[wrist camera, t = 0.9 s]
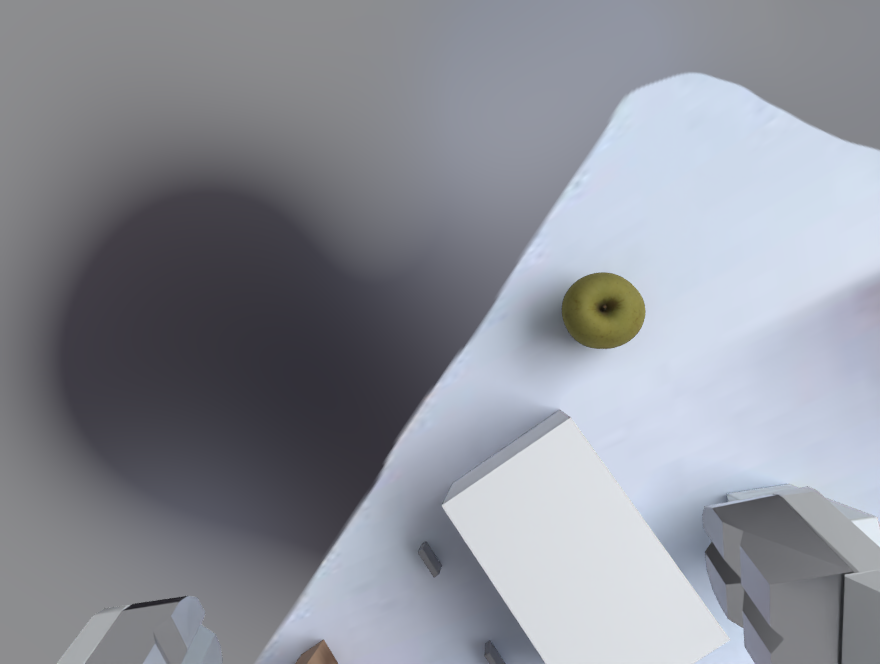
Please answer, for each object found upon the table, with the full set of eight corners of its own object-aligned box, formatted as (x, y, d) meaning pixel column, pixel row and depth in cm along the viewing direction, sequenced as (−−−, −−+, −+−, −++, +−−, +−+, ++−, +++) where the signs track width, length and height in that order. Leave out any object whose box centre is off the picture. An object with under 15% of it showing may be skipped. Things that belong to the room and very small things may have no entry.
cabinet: (689, 590, 54) (730, 639, 44) (521, 699, 55) (524, 771, 45) (559, 409, 57) (570, 417, 47) (403, 516, 58) (382, 546, 48)
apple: (563, 275, 58) (571, 262, 51) (639, 286, 57) (658, 274, 50) (552, 344, 57) (559, 340, 50) (628, 356, 56) (646, 354, 49)
